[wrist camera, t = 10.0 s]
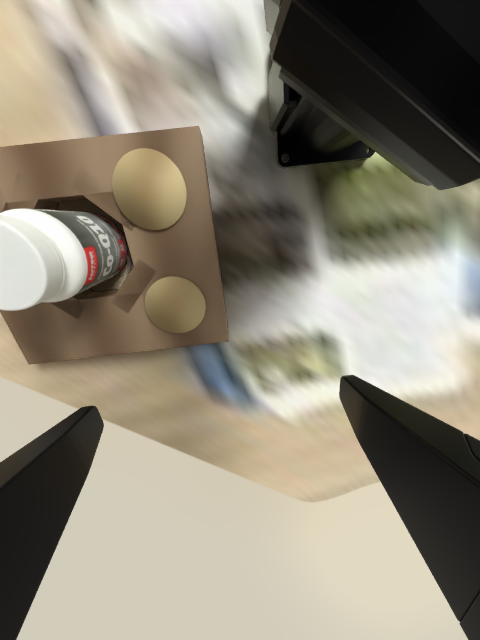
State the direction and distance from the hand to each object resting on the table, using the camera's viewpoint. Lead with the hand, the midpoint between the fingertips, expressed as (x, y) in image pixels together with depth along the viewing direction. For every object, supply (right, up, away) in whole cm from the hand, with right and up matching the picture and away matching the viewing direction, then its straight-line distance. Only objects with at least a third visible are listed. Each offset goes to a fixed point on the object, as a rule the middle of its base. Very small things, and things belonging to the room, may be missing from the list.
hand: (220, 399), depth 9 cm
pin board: (-9, +8, +9) cm, 15 cm away
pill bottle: (-10, +8, +9) cm, 16 cm away
